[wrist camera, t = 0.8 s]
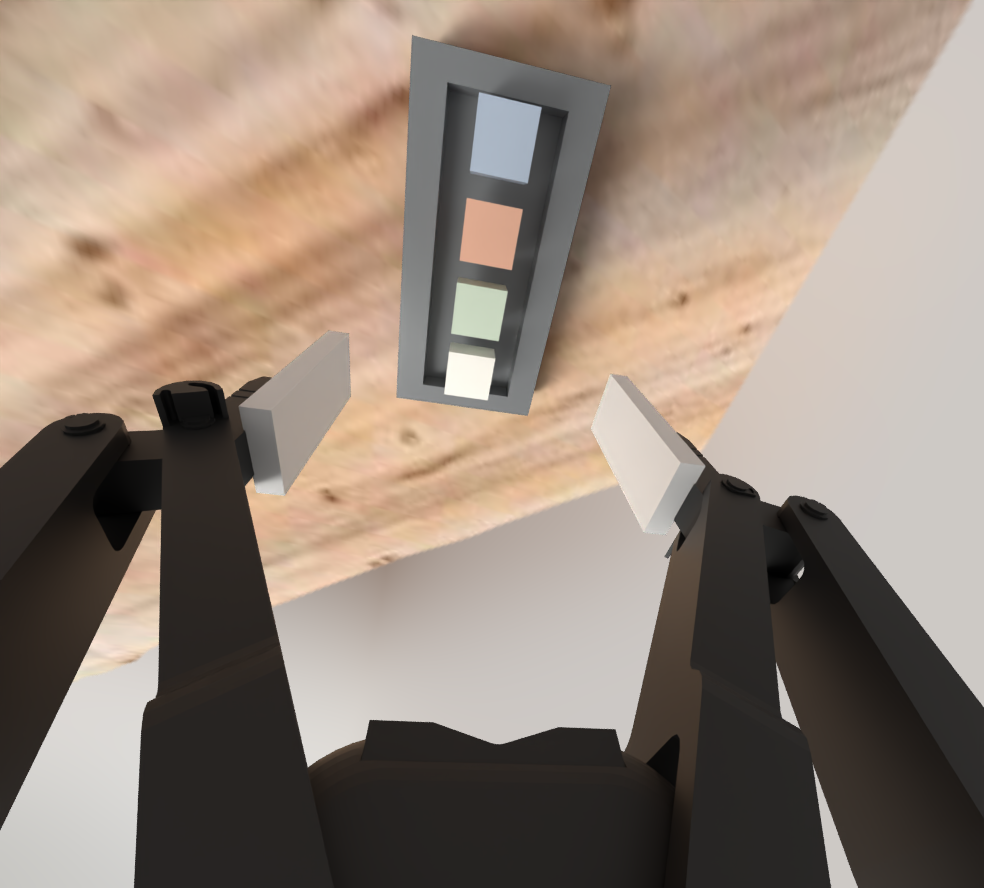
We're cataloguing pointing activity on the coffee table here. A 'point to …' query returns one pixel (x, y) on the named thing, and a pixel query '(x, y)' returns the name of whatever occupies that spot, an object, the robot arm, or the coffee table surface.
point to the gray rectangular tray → (448, 183)
